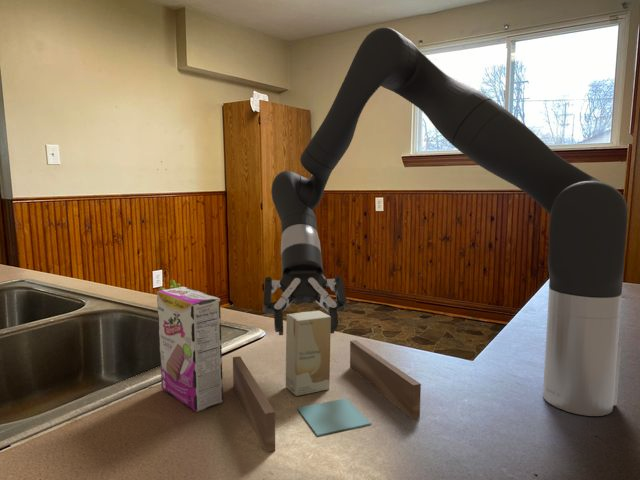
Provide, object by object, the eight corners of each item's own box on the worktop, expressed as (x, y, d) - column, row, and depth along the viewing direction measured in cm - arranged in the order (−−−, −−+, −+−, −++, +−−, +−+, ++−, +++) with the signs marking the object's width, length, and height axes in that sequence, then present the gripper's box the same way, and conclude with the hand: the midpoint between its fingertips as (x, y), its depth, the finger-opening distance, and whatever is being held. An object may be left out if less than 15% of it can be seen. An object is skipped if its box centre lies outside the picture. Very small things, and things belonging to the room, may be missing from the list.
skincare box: (295, 397, 69) (295, 320, 68) (284, 386, 73) (284, 313, 72) (331, 389, 72) (332, 315, 71) (319, 379, 76) (319, 309, 75)
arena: (355, 366, 81) (356, 340, 81) (419, 417, 63) (420, 383, 63) (233, 386, 73) (232, 357, 73) (265, 452, 55) (265, 413, 54)
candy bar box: (159, 390, 72) (155, 290, 70) (187, 381, 75) (184, 285, 73) (195, 414, 64) (191, 302, 62) (224, 403, 67) (222, 296, 66)
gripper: (262, 242, 80) (263, 323, 70) (341, 241, 82) (352, 319, 72) (263, 266, 86) (264, 344, 76) (336, 265, 88) (346, 340, 78)
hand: (307, 332), depth 74 cm, fingers open, 8 cm apart
